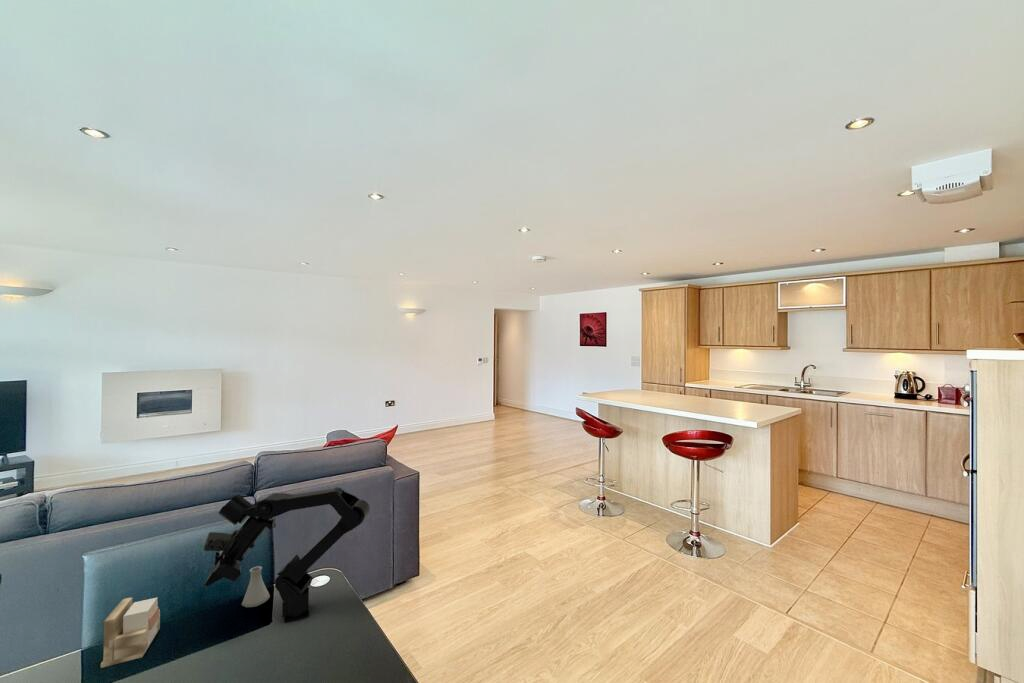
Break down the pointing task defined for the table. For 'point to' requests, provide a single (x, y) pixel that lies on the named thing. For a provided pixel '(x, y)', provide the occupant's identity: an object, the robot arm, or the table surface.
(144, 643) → the beige toy armchair
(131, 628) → the white box
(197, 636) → the table surface
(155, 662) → the table surface
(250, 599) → the flask
